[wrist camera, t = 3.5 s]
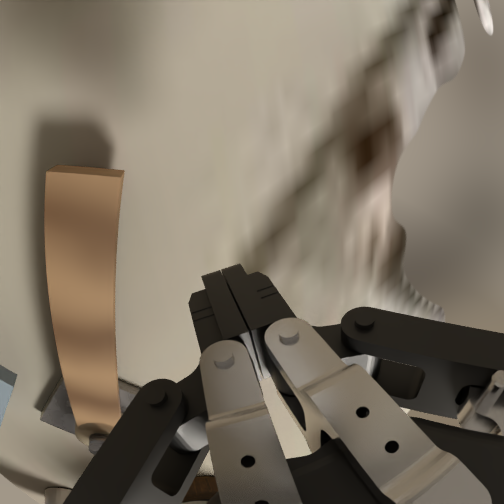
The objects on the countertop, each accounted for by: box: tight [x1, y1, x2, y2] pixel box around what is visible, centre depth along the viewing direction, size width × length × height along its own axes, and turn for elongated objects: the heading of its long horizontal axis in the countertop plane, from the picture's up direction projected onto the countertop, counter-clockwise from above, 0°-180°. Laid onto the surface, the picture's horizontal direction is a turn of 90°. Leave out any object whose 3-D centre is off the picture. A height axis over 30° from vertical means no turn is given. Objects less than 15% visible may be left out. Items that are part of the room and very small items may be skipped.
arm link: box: [44, 165, 124, 446], centre depth 18 cm, size 24×5×2 cm, turn 166°
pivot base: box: [40, 375, 140, 455], centre depth 21 cm, size 10×10×5 cm
